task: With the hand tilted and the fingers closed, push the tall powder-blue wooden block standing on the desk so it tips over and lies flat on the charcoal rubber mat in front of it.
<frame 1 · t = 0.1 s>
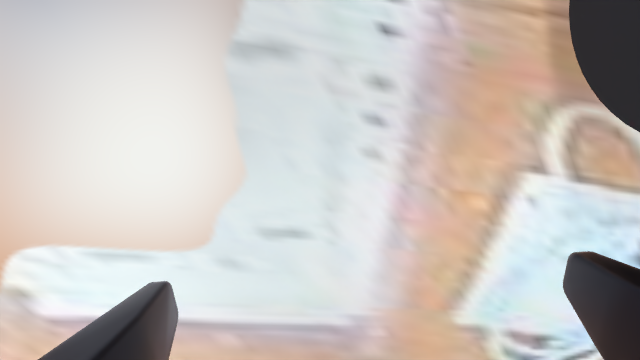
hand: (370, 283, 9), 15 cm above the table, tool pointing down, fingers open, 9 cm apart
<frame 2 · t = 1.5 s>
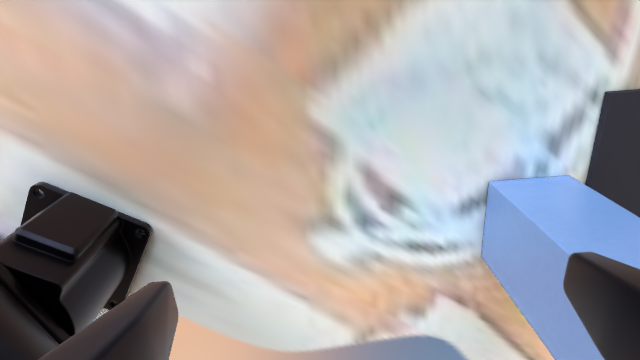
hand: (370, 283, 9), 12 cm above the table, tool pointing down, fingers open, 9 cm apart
blue block: (523, 217, 22), on the table
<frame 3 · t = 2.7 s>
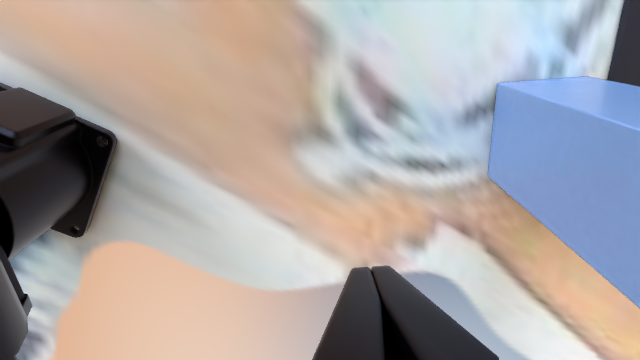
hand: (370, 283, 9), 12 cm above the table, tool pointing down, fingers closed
blue block: (535, 128, 20), on the table
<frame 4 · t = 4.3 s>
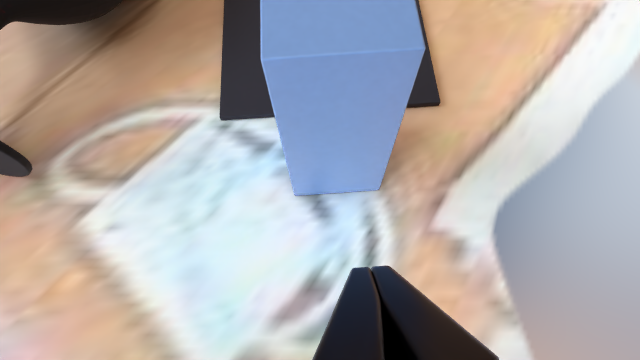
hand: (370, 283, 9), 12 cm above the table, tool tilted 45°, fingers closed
blue block: (334, 158, 24), on the table
rubber mat: (321, 17, 28), on the table
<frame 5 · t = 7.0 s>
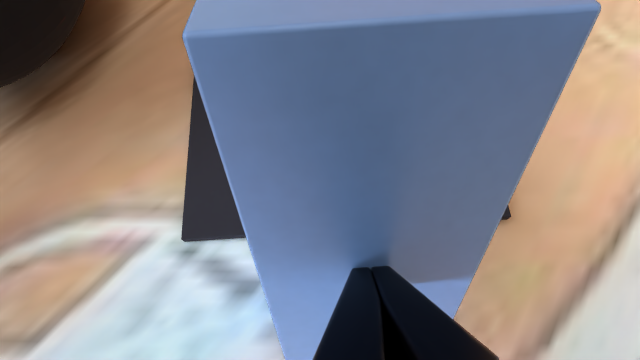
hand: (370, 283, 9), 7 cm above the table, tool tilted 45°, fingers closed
blue block: (354, 304, 15), point 1 cm above the table, tilted 20°
rubber mat: (331, 79, 20), on the table
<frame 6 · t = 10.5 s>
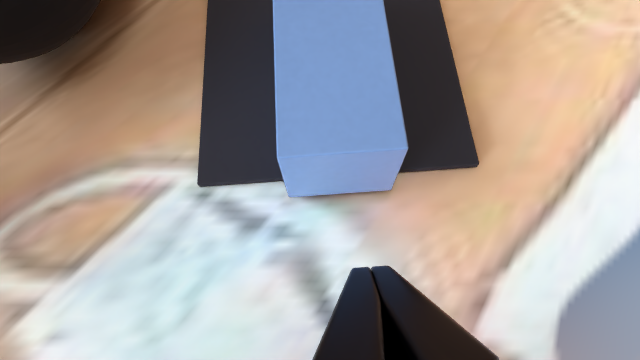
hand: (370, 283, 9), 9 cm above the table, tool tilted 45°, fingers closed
blue block: (341, 176, 17), point 3 cm above the table, tilted 90°, touching rubber mat
rubber mat: (326, 50, 22), on the table
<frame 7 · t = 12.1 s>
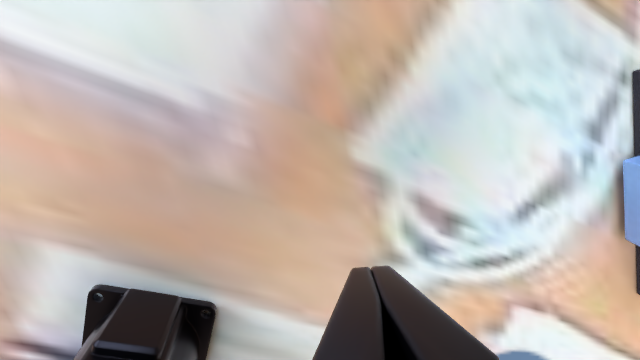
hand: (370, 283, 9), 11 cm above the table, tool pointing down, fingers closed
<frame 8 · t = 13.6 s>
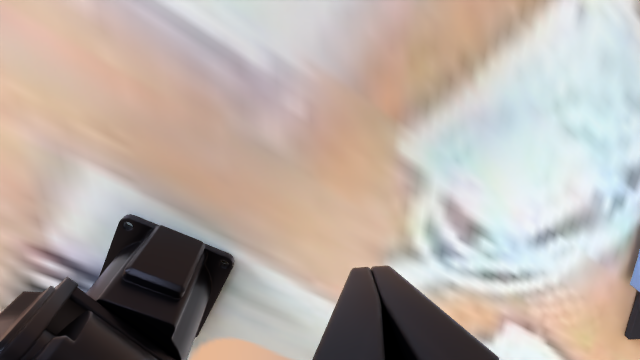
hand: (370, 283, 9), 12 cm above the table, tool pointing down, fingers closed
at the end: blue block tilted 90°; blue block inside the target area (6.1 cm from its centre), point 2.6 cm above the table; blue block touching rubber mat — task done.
